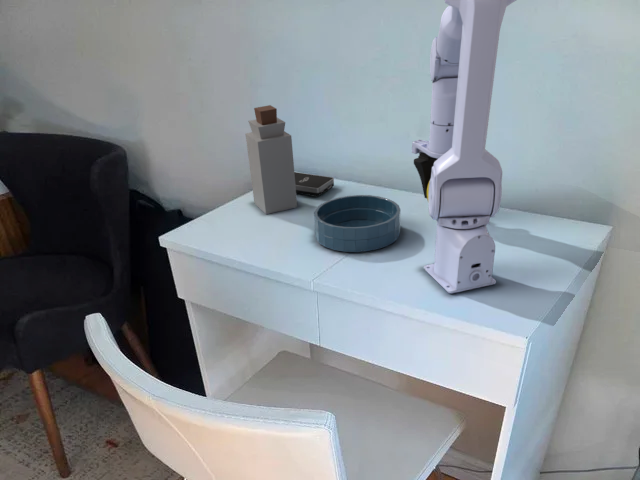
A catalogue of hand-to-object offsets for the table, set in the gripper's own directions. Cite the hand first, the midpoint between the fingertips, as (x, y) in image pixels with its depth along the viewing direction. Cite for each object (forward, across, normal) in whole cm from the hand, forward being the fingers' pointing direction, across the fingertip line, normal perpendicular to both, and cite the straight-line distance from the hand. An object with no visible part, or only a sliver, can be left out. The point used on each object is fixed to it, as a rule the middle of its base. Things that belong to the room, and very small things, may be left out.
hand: (441, 201), depth 112 cm
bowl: (+3, +5, +16) cm, 17 cm away
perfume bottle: (+3, +28, +18) cm, 34 cm away
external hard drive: (+3, +31, +9) cm, 32 cm away
